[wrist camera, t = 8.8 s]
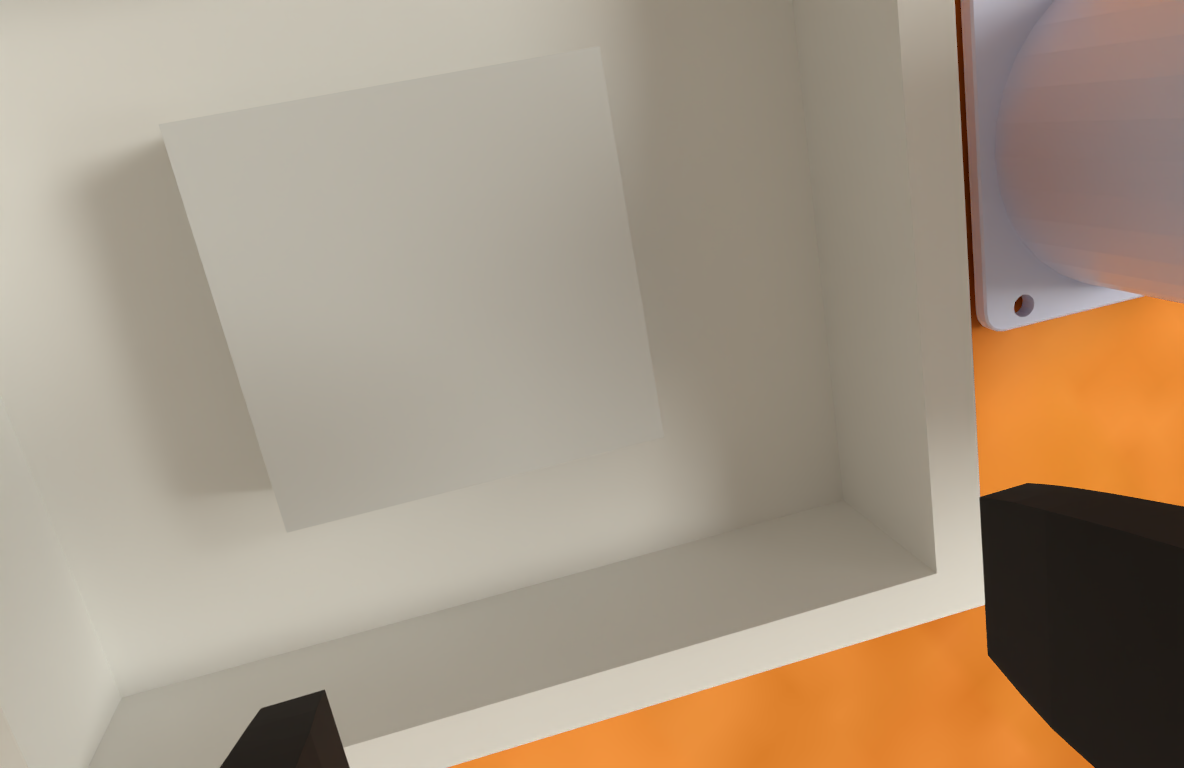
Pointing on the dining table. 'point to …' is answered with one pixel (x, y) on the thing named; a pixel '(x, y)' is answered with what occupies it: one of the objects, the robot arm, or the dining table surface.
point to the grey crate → (468, 362)
